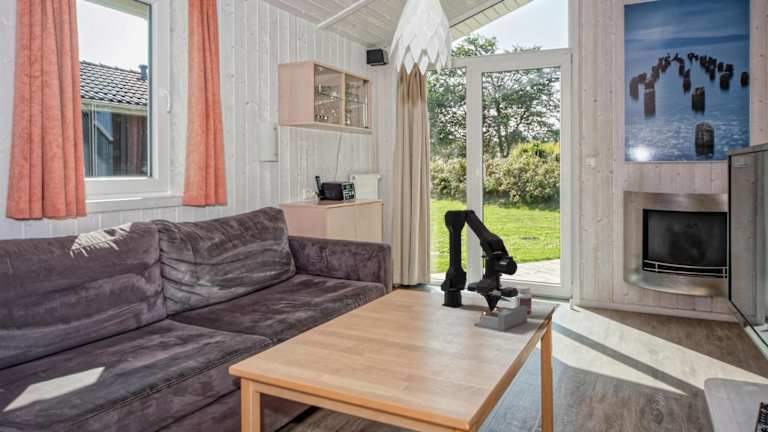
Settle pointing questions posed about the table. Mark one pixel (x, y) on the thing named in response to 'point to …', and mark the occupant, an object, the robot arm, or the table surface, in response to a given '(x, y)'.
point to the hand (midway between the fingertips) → (491, 312)
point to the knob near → (490, 314)
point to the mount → (504, 319)
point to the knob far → (499, 309)
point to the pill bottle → (524, 298)
